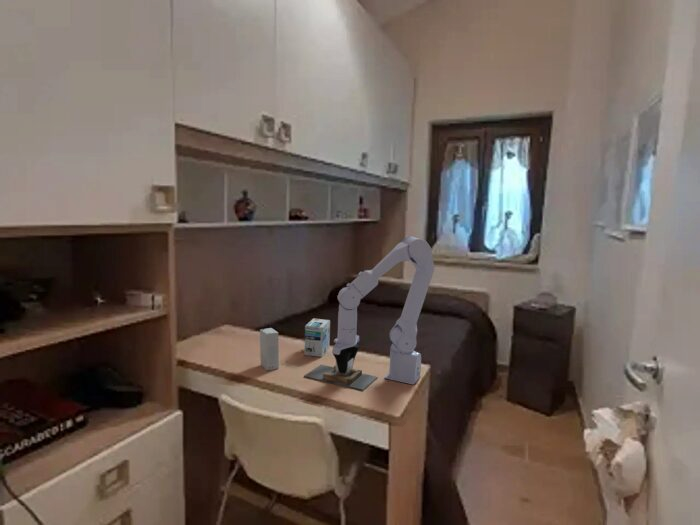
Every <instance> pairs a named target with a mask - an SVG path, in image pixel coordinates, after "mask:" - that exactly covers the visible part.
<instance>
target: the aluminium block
mask: <svg viewBox="0 0 700 525" xmlns="http://www.w3.org/2000/svg"><path fill="white" fill-rule="evenodd" d="M353 359H354V358H353V357H349V360H348V364H347V370H346V373H345V374H344V373H340V372H339V370H338V366H337V362H336V361H335V365H336V371H335V375H339V376H344V377H348V378H349V377H350V376H351V375H353V369H354V363H353ZM354 360H355V359H354Z"/></svg>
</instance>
